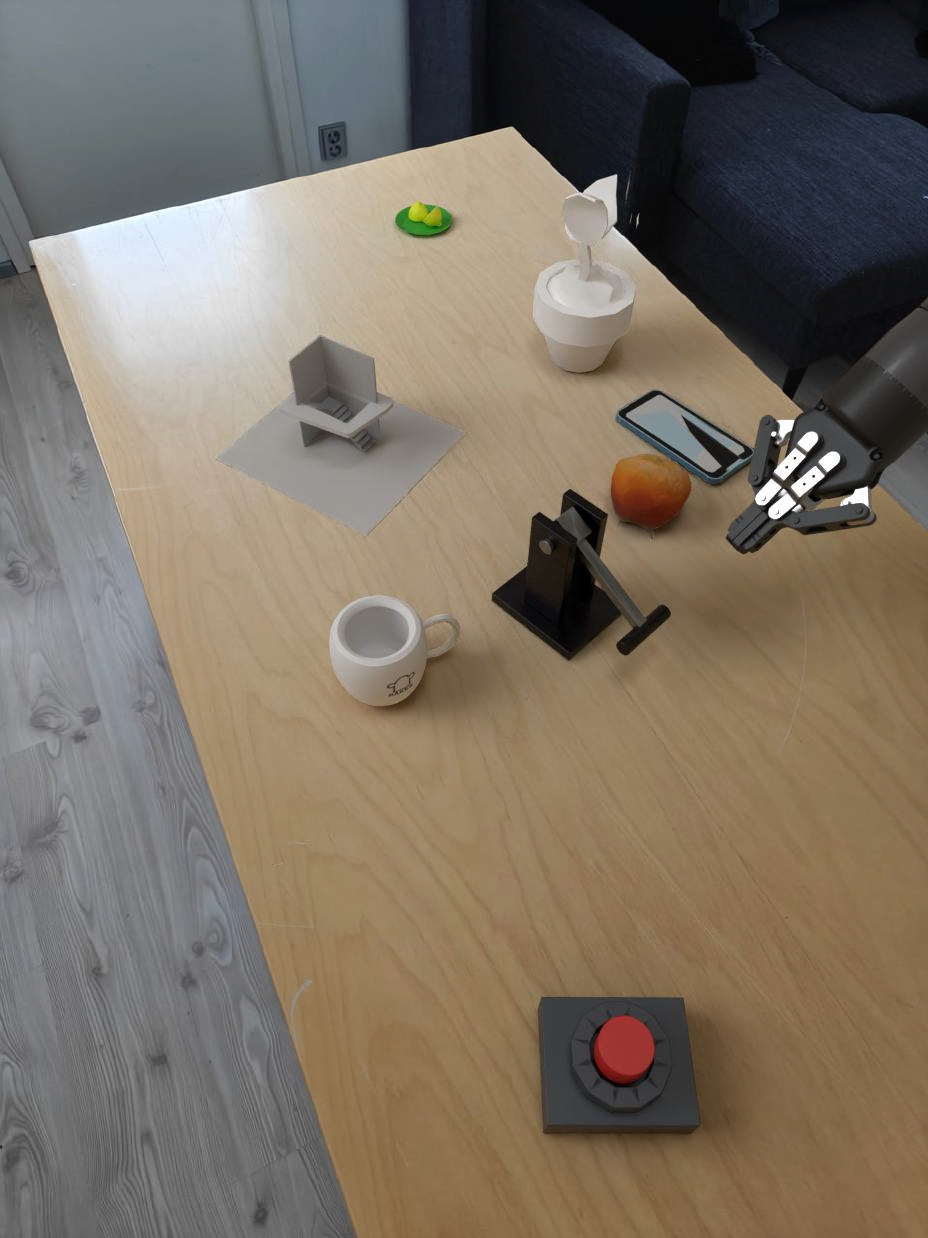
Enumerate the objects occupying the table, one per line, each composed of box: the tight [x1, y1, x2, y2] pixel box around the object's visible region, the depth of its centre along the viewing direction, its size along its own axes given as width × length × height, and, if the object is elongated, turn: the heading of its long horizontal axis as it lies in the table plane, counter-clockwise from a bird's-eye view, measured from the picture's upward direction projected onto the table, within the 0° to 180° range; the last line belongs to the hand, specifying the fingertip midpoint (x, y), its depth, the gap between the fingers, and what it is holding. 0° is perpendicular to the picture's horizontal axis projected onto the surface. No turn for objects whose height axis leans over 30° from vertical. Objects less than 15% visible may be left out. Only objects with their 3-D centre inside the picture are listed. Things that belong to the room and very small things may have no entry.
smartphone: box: [615, 388, 754, 485], centre depth 104 cm, size 7×1×15 cm
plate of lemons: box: [394, 200, 453, 236], centre depth 130 cm, size 8×8×3 cm
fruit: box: [610, 453, 692, 540], centre depth 95 cm, size 8×8×8 cm
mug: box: [328, 594, 461, 707], centre depth 82 cm, size 12×8×8 cm
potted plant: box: [532, 170, 640, 374], centre depth 103 cm, size 13×12×25 cm
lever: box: [553, 507, 672, 657], centre depth 81 cm, size 13×6×2 cm, turn 45°
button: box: [594, 1016, 655, 1084], centre depth 60 cm, size 4×4×3 cm
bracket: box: [491, 488, 622, 661], centre depth 84 cm, size 10×8×13 cm
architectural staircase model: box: [214, 334, 467, 537], centre depth 98 cm, size 19×21×12 cm
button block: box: [537, 996, 702, 1135], centre depth 63 cm, size 10×8×5 cm
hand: (734, 546), depth 77 cm, fingers closed
